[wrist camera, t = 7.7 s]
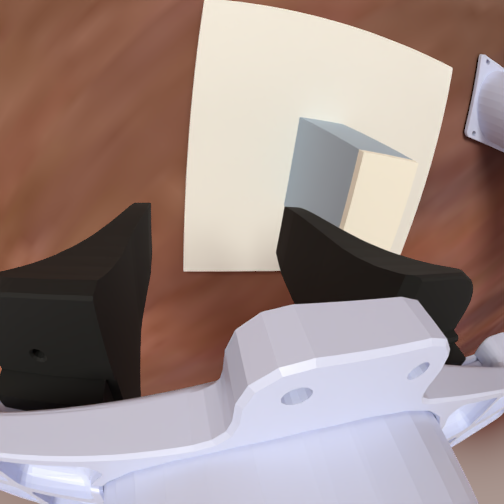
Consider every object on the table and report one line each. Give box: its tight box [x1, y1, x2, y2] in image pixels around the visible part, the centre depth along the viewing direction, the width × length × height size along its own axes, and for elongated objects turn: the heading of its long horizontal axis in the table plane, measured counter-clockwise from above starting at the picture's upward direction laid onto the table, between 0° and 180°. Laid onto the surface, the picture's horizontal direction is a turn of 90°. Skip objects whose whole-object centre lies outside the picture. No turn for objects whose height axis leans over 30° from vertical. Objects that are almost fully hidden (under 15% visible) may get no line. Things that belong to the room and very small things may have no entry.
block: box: [284, 117, 419, 251], centre depth 17 cm, size 3×6×8 cm, turn 173°
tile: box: [183, 0, 453, 271], centre depth 20 cm, size 18×18×1 cm
